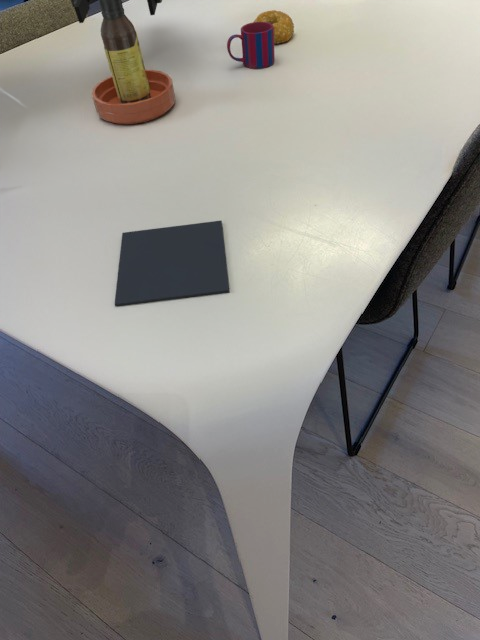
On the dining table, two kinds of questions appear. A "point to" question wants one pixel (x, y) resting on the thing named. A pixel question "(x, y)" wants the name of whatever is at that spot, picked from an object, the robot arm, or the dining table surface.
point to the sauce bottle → (123, 53)
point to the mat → (171, 263)
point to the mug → (255, 45)
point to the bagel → (278, 24)
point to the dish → (135, 111)
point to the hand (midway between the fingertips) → (114, 11)
